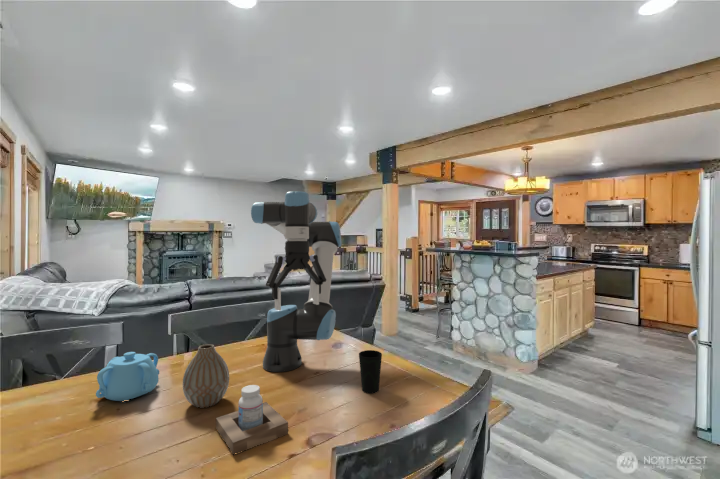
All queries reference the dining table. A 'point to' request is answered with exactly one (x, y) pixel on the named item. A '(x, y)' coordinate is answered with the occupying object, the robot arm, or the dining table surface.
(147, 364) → the decorative pot
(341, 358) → the dining table surface
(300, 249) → the robot arm
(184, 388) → the vase
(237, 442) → the socket block
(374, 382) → the cup
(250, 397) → the pill bottle
